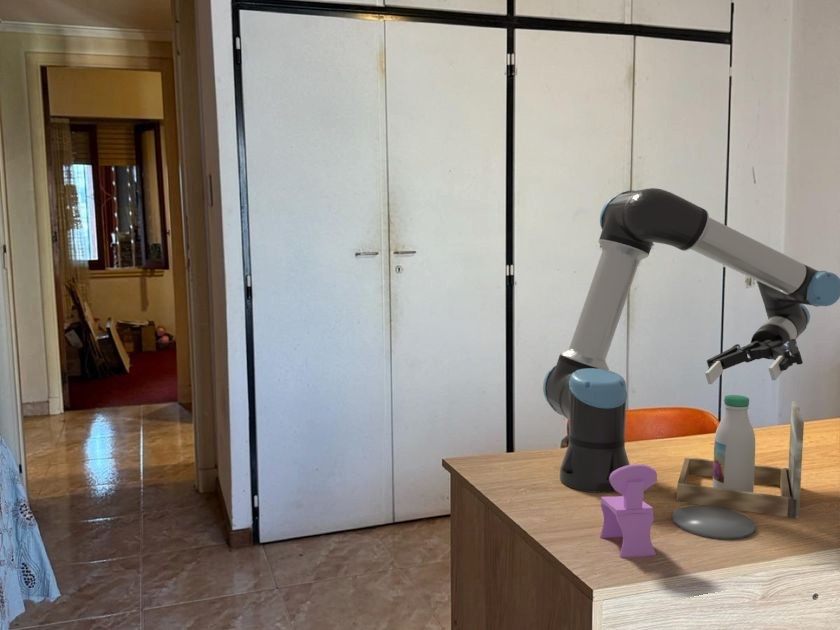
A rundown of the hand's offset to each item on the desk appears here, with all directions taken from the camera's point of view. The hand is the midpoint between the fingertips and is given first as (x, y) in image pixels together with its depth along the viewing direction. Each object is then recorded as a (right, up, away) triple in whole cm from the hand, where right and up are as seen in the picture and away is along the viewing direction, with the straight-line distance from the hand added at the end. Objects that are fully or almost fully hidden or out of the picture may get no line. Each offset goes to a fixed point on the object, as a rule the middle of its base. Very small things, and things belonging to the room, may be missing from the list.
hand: (739, 376), depth 155 cm
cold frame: (-3, -23, -5) cm, 24 cm away
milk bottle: (-3, -24, -5) cm, 24 cm away
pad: (-14, -25, -21) cm, 35 cm away
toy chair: (-32, -26, -30) cm, 51 cm away
